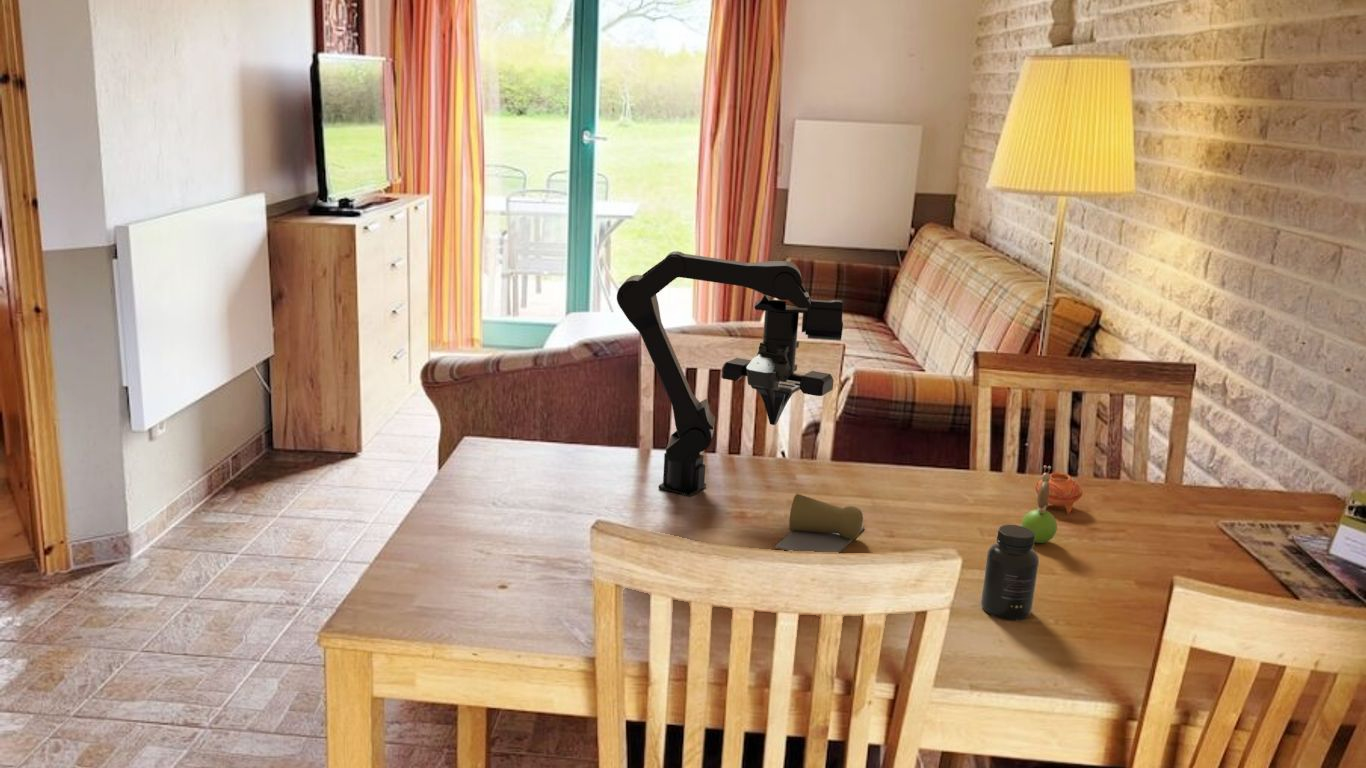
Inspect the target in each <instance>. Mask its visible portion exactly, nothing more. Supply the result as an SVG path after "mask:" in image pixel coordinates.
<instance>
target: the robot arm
mask: <svg viewBox="0 0 1366 768" xmlns="http://www.w3.org/2000/svg"><path fill="white" fill-rule="evenodd" d="M677 278H682V279H691V280H696V281H704V282H709V283H710V282H712V283H716V284H724V285H730V286H731V285H732V286H739V287H745V288H747V289H751V290H752V291H756V292H757V293H760V294H762V297H761V298H760V299H759V300H757V301H756V302H755V303H754V310H755V311H764V320H763V334H762V335H763V337H762V342H759V346H758V352H757V354H756V355H755V356H754V357H753V358H752V359H748V358H747V359H746V358H740V357H736V358H733V359H731V360H728V361H726V362H725V363H724V364H723V365H722V367H721V376H720V377H721V379H723V380H729V381H733V382H737V381H738V380H740V379H741V378H742V377H747V378H746V380H747V384H748V385H749V386H751V389H754V390H756V391H757V392H758V393H759V394H760V396H761V399H762V402H763V404H764V408H765V411H766V414H767V415H766V416H767V419H768V421H769V425H770V426H771V425H772V426H776V425H777V423H778V421H779V419H780V417H781V416H782V414H783V412H784V410H785V407H786V405H787V404H788V402H789V401H790V399H791V397H792V395H793V394H795V393H797V392H799V391H801V392H802V393H803V394H805V395H811V396H815V397H822V396H824V395H826V394H828V393H829V392H831V391H833V390H834V382H835V381H834V378H833V376H832V374H831V373H829V372H828V373H826V372H822V371H815V370H811V371H809V372H807V373H805V374H800V373H799V374H798V373H795V372H797V370H798V364H795V363H796V354H797V353H796V352H797V349H798V348H799V347H800V341H799V340H797V339H798V330H799V329H798V328H799V315H800V314H802V317H801V333H805V336H806V335H807V339H809V340H810V339H811V340H823V341H835V342H836V341H837V342H841V340H842V336H843V329H844V322H843V307H844V306H843V304H844V303H843V301H842V300H841V299H831V300H828V299H827V300H824V299H812V298H811V296H810V295H809V292H807V290H806V289H805V287H804V285H803V283H802V282H803V281H802V278H803V277H802V274H801V271H800V268H799V267H798V266H797V265H796V264H795V263H794V262H792V261H789V260H773V261H772V260H771V261H770V260H769V261H758V262H744V261H736V260H729V259H722V258H715V257H709V256H702V255H697V254H696V255H695V254H688V253H683V252H681V251H671V252H669V253H668V254H667V255H666V256H665V258H663V259H662V260H661V261H660V262H658V263H657V264H655V265H654V266H652V267H651V268H650V269H648V270H647V271H645V272H644V273H643V274H635V275H631V276H629V277H627V279H625V281H624V282H623V283H622V284H621V286H619V288H618V290H617V293H616V303H617V305H618V306H619V308H620V309H621V311H622V313H624V316H625V317H626V318H627V321H629V323H630V324H631V326H632V325H633V327H634V328H635V329H636V330H637V332H638V333H639V335H640V336H641V339H642V341H643V343H644V345H645V347H646V350H647V352H648V354H649V356H650V359H651V361H652V364H653V366H654V368H655V370H656V372H657V374H658V377H659V379H660V381H661V383H662V385H663V388H664V390H665V392H666V393H665V394H666V395H667V397H668V399H669V402H670V404H671V407H672V411H673V417H674V418H673V419H674V425H675V428H676V431H674V432H673V433H672V434H670V437H669V440H668V443H667V446H666V449H665V453H664V458H663V475H662V476H663V478H662V479H663V480H662V483H660V484H659V485H658V489H660V490H664V491H667V492H673V493H676V494H680V495H684V496H692V495H694V494H695V493H698V492H699V491H700V490H702V489H703V488H704V487H707V483H706V482H705V480H706V479H705V478H706V465H705V464H704V455H703V454H701V453H702V452H704V451H706V450H707V449H708V448H709V447H710V446H711V444H712V440H713V437H714V436H713V434H714V431H715V422H716V416H715V415H714V414H713V412H712V411H711V409H710V404H709V402H708V399H707V398H705V399H702V400H701V401H700V400H699V399H698V398H697V397H696V396H695V395H694V393H693V392H692V390H691V389H692V388H691V387H690V384H689V382H688V380H687V378H686V375H685V373H684V371H683V368H682V366H681V364H680V361H679V359H678V357H677V354H676V352H675V350H674V348H673V346H672V343H671V341H670V339H669V337H668V335H667V332H666V330H665V327H664V325H663V323H662V319H661V317H662V316H661V311H660V306H659V301H658V296H657V295H658V294H659V293H660V292H661V291H662V290H663V289H665V288H666V287H667V286H668V285H669V284H670V283H672V282H673V281H674V280H676V279H677ZM770 297H771V298H774V299H771V298H770ZM787 301H789V302H790V303H791V304H793V305H789V304H788V305H787Z"/></svg>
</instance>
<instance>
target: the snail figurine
mask: <svg viewBox="0 0 1366 768" xmlns="http://www.w3.org/2000/svg"><path fill="white" fill-rule="evenodd" d="M1043 469H1044V472H1043V473H1042V475H1041V480H1042V483H1041V486H1040V487H1039V491H1038V493H1037V499H1036V500H1037V501H1036V502H1037V508H1035V509H1032V510H1030V511H1028V512H1027V513H1026V514H1025V515H1024V516H1023V518H1022V521H1021V526H1023V527H1026V528H1028V529H1030V530H1032V531H1033V532H1034V534H1035V537H1034V543H1037V544H1042V543H1047V542H1050V540H1052V539H1053V538H1054V537H1055V536H1056V533H1057V532H1058V531H1057V530H1058V523H1057V521H1056V518H1055V516H1054V515H1053V514H1052V513H1051V512H1049V511H1048V510H1047V507H1048V506H1049V503H1048V499H1049V487H1050V486H1049V480H1050V470H1051V469H1052V466H1051V465H1048V466H1047V465H1043ZM1047 469H1048V472H1046V470H1047Z"/></svg>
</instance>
